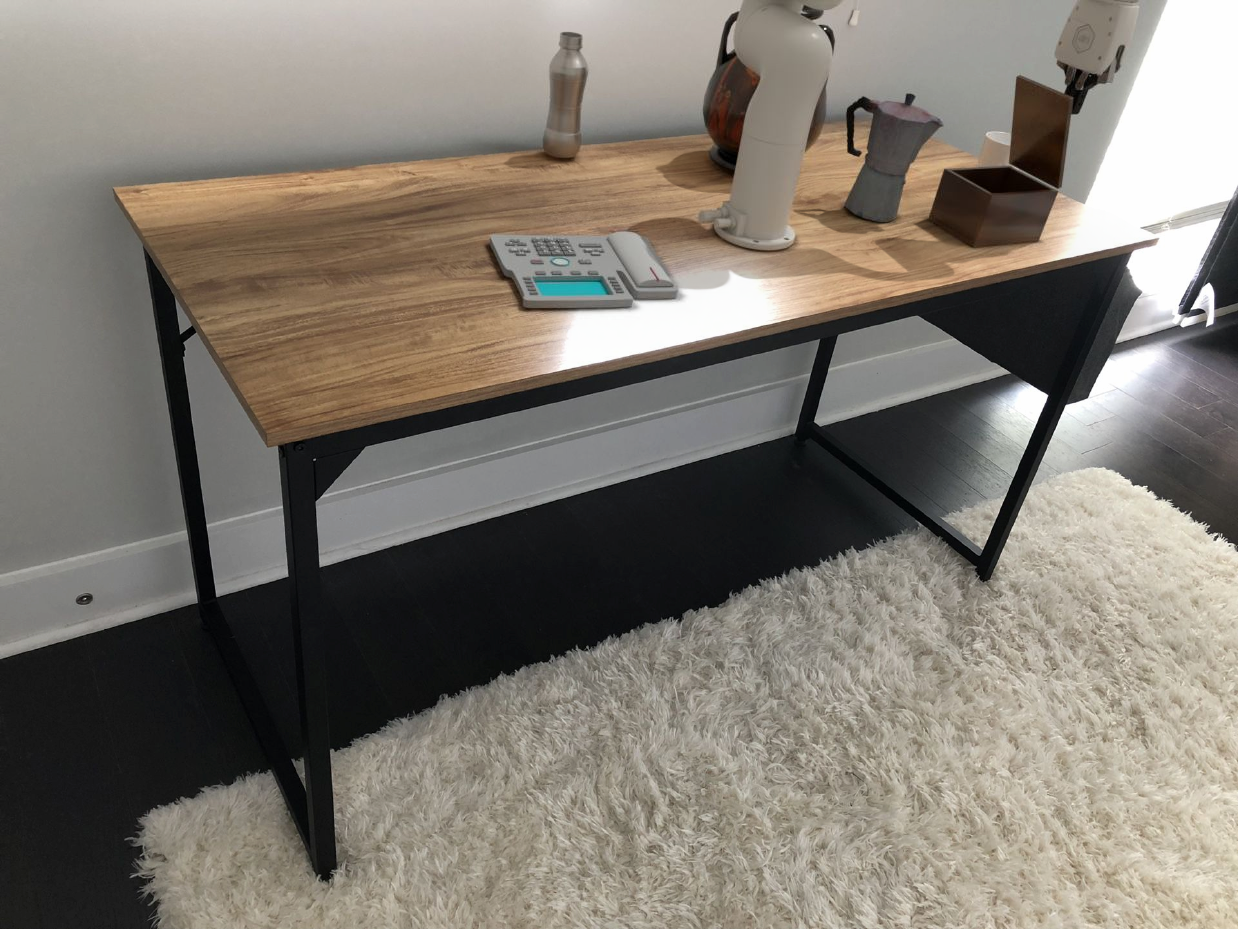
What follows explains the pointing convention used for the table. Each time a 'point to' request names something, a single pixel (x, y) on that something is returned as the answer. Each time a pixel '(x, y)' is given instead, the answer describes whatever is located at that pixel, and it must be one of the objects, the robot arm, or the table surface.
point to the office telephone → (583, 269)
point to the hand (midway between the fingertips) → (1068, 112)
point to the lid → (1040, 130)
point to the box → (992, 205)
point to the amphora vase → (744, 99)
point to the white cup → (995, 150)
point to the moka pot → (886, 154)
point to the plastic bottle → (566, 97)
